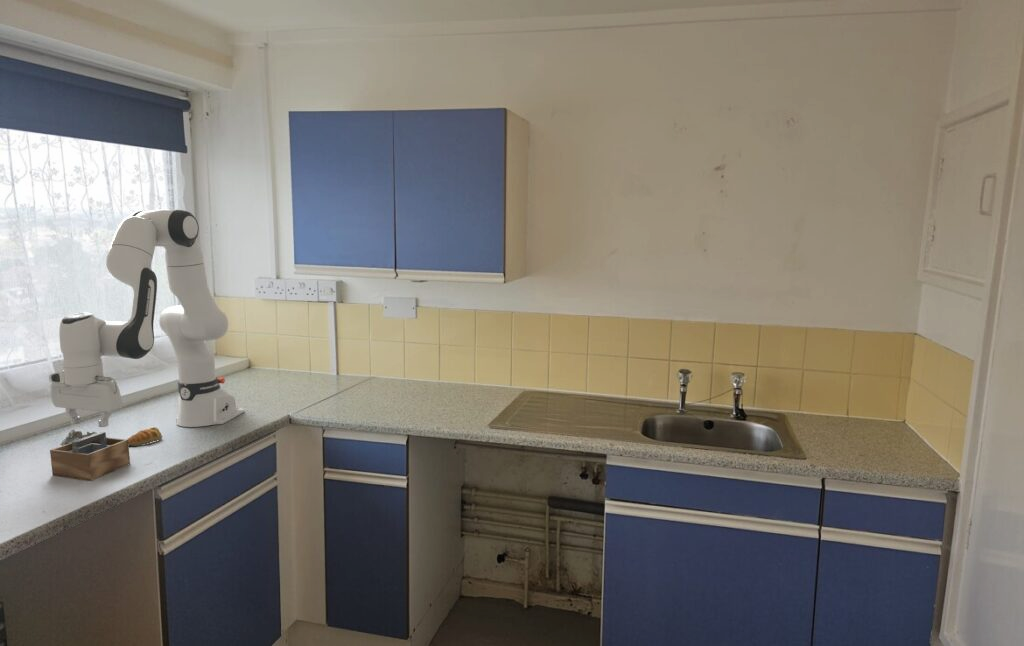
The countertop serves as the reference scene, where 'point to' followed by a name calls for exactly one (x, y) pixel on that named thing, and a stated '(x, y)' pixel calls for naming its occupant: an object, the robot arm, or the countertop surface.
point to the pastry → (145, 437)
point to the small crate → (91, 446)
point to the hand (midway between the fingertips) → (89, 425)
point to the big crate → (90, 460)
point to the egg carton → (75, 436)
